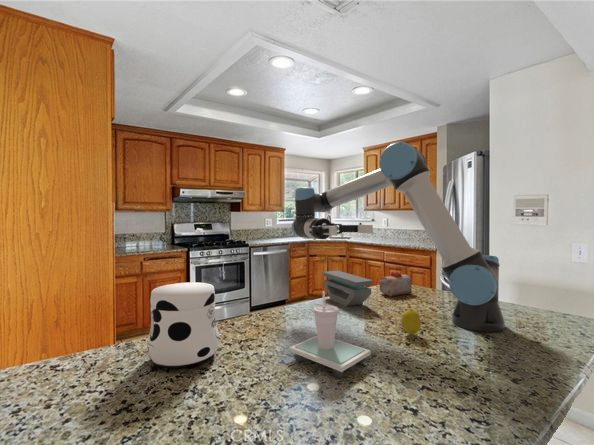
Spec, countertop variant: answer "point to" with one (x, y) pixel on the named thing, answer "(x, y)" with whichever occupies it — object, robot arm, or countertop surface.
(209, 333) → the milk container
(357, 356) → the tray
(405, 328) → the lemon
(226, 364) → the countertop surface
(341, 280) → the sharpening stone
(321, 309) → the smoothie
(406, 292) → the grey boxy piece
